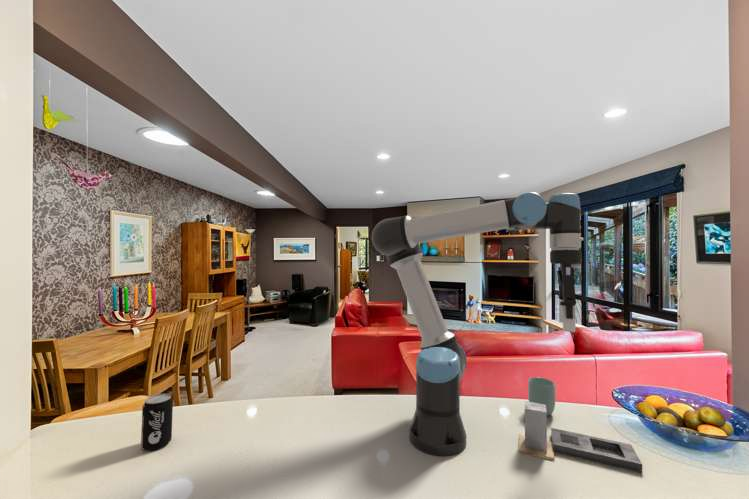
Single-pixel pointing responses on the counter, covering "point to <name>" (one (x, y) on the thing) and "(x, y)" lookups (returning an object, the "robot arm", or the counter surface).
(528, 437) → the steel peg
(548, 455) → the cork pad
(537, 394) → the cup
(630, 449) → the grey recessed tray
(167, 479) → the counter surface
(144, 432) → the beverage can
